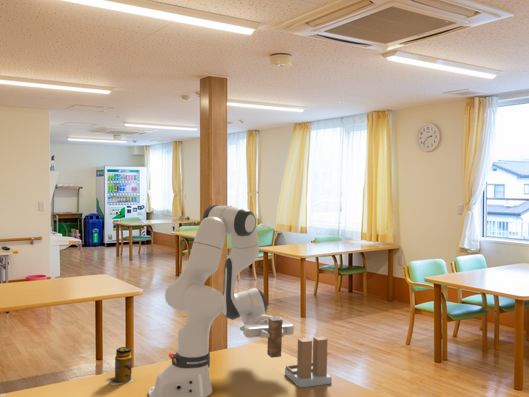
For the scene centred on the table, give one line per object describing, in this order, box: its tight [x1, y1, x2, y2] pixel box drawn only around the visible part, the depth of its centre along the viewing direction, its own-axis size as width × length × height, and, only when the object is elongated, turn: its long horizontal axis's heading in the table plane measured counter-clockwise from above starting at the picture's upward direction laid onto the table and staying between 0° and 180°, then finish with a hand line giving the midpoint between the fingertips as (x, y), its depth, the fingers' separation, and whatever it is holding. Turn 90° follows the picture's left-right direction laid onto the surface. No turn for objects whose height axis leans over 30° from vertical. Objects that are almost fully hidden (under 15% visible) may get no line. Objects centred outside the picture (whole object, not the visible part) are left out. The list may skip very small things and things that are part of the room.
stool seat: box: [284, 335, 333, 389], centre depth 195 cm, size 13×14×16 cm
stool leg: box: [266, 316, 283, 358], centre depth 192 cm, size 4×4×14 cm
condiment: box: [106, 346, 135, 386], centre depth 190 cm, size 7×8×12 cm
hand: (275, 335), depth 191 cm, fingers closed on stool leg, 4 cm apart
